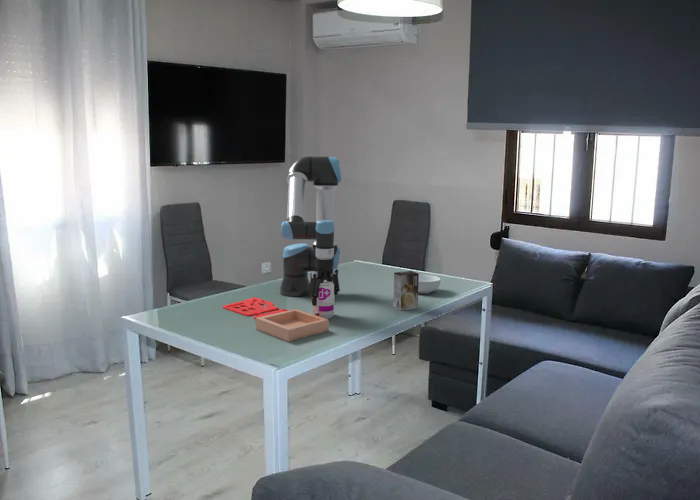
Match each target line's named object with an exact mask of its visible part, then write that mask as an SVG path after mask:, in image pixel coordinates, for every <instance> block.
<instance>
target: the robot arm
mask: <svg viewBox="0 0 700 500" xmlns="http://www.w3.org/2000/svg"><path fill="white" fill-rule="evenodd" d="M286 173H287V175H286V183H287V184H288V190H287V208H286V210H287V211H286V221H282V222H281V224H280V225H281V228H280V230H281V231H280V232H281V233H280V234H281V238H282V239H283V240H290V241H291V240H314V242H313V243H312V246H310V247H309V244H308V243H293V244H290V245H287V246H284V248H283V255H282V258H283V271H282V272H283V273H282V276H283V277H282V280H281V283H280V287H279V294H280V295H282V296H285V297H286V296H287V297H304V296H308V297H310V298H311V306H312V313H313V314H314V313H317V314H318V313H319V298H317V297H318V294H319V286H320V283H323V282H324V280H327V281H330V282H331V281H333V284H334V311H335V309H336V308H335V304H336V303H335V302H336V299H337V295H338V294H339V292H340V290H341V289H340V282H339V269H338V267H339V263H340V253H341V248H340V247H339V246H338V243H337V242H336V241H335V228H336V227H335V210H336V209H335V202H336V201H335V200H336V196H335V195H336V191H335V190H336V189H337V188H338V187H339V183H341V182H342V173H341V165H340V160H339V158H338V157H335V156H309V155H307V156H303V157H300V158H298V159H296V160H295V161H294V162H293V163H292V164H291V166H290V167H289V169H288V171H287V172H286ZM308 182H309V183H310V182H311V183H312V185H313V187H314V189H316V199H315V200H316V201H315V202H316V204H315V205H316V208H315V209H316V211H315V212H316V214H315V217H316V218H315V220H316V221H305V207H306V205H305V204H306V203H305V202H306V186H307V184H308ZM309 272H310V273H309ZM309 276H310V280H309Z"/></svg>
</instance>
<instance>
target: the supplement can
mask: <svg viewBox="0 0 700 500" xmlns="http://www.w3.org/2000/svg"><path fill="white" fill-rule="evenodd" d="M317 298H319V313H318V314H317V313H314V312H313V315H316V316H319V317H322V318H325V319H330V318H332V317H333V316H334V313H335V312H334V311H335V310H334V284H333V280H332V281H331V282H330V281H327V280H324V282H323V283H320V286H319V294H318V297H317Z"/></svg>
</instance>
